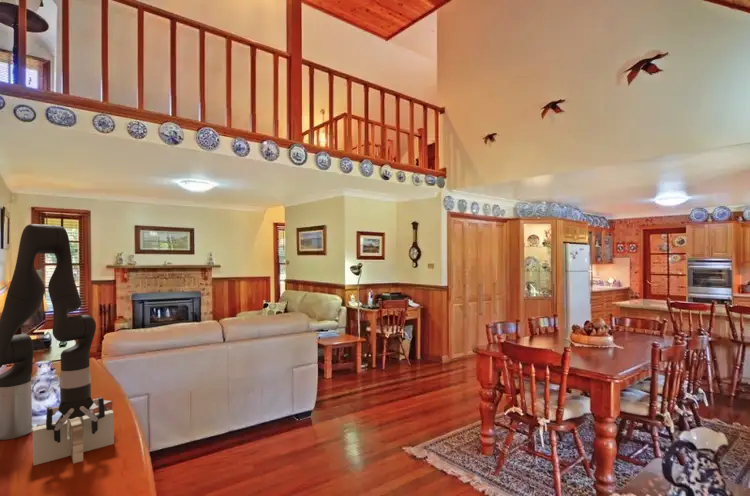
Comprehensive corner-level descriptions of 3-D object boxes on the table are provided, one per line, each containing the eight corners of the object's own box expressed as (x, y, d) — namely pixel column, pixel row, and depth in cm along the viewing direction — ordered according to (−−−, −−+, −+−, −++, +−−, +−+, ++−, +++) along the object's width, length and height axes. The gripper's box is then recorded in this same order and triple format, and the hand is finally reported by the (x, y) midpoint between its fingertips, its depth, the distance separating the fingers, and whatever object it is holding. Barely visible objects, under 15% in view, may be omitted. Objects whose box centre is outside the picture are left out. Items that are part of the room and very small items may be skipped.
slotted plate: (67, 444, 135) (67, 413, 135) (77, 442, 136) (76, 411, 136) (73, 463, 123) (72, 429, 123) (83, 460, 124) (82, 426, 124)
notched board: (33, 465, 122) (32, 430, 122) (33, 461, 124) (32, 427, 124) (114, 443, 135) (113, 412, 135) (112, 440, 137) (111, 409, 137)
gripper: (46, 391, 119) (47, 449, 119) (105, 380, 128) (106, 434, 128) (44, 385, 125) (45, 440, 125) (101, 375, 134) (102, 426, 134)
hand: (76, 437), depth 127 cm, fingers open, 8 cm apart
